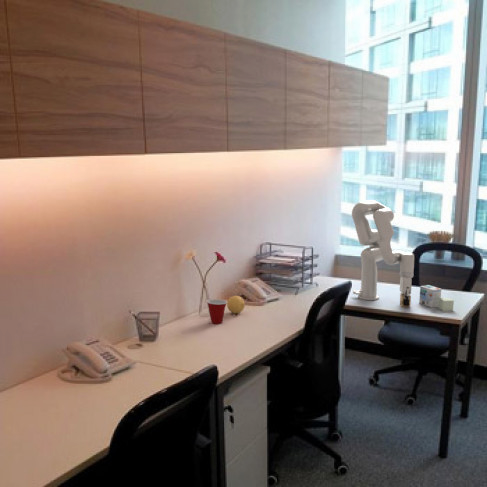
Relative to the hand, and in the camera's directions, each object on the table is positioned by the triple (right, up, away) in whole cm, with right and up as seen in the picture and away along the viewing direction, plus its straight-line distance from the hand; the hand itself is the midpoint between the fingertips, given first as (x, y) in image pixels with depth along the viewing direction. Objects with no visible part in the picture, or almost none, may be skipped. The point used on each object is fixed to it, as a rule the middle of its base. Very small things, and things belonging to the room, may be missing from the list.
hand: (405, 303), depth 303 cm
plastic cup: (-109, -7, -29) cm, 113 cm away
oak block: (0, -1, 0) cm, 1 cm away
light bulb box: (+15, -1, +3) cm, 16 cm away
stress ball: (-99, -4, -13) cm, 100 cm away
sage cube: (+21, -2, -6) cm, 22 cm away
